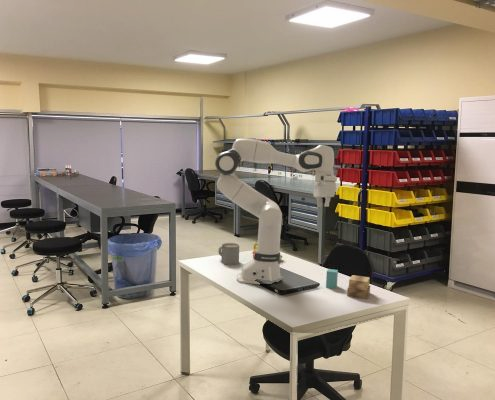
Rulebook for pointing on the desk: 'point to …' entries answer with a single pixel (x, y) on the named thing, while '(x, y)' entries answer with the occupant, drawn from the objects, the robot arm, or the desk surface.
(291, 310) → the desk surface
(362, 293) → the walnut base block
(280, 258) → the plastic component
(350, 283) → the oak top block
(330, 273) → the teal pillar
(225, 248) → the coffee mug
